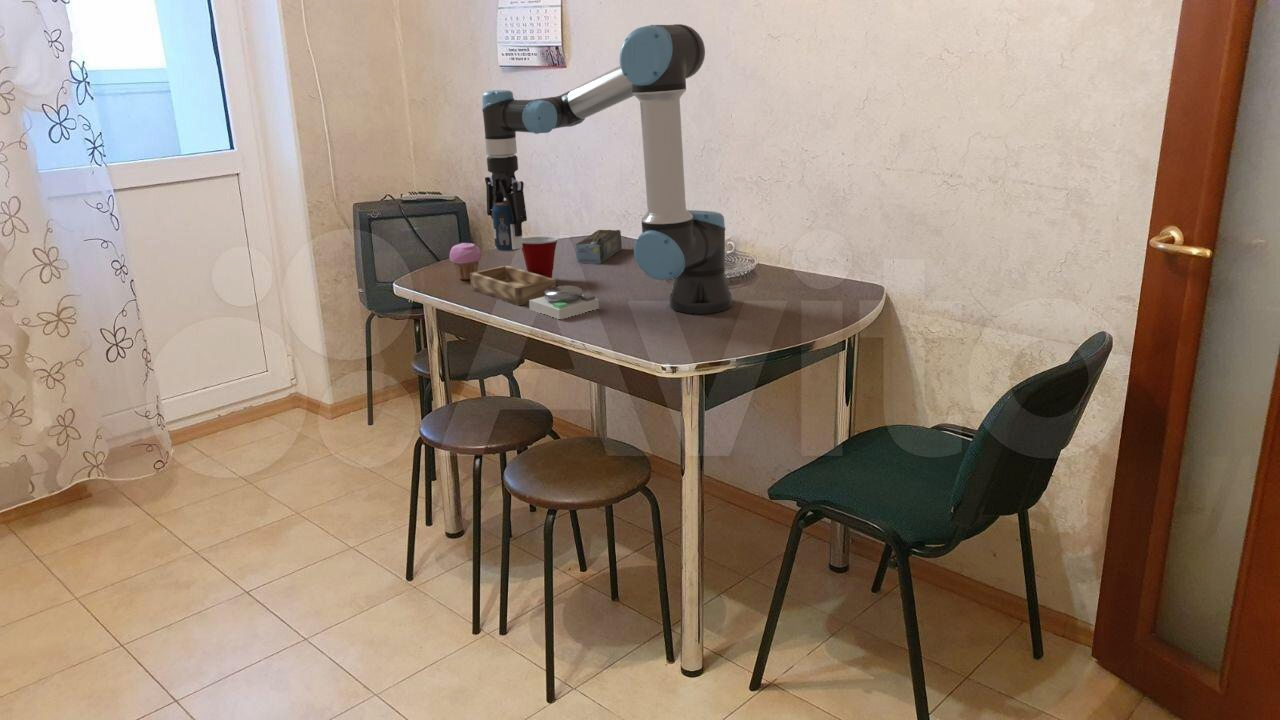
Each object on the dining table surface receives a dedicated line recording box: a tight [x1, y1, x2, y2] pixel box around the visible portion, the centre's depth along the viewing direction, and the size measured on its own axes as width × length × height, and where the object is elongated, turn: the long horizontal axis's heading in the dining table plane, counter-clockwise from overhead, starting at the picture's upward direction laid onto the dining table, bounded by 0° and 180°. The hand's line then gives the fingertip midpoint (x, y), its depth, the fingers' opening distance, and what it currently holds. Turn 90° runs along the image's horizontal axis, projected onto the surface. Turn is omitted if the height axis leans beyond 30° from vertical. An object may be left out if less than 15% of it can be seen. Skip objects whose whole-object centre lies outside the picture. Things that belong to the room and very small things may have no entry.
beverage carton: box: [575, 229, 623, 265], centre depth 278 cm, size 8×19×7 cm, turn 162°
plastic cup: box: [521, 235, 559, 279], centre depth 252 cm, size 11×11×12 cm
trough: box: [469, 264, 556, 307], centre depth 243 cm, size 22×12×4 cm, turn 42°
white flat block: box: [528, 293, 600, 320], centre depth 227 cm, size 12×12×3 cm
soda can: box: [491, 199, 520, 253], centre depth 238 cm, size 7×7×12 cm
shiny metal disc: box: [545, 285, 583, 302], centre depth 227 cm, size 9×9×2 cm
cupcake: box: [449, 242, 482, 281], centre depth 257 cm, size 9×9×10 cm
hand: (508, 246), depth 239 cm, fingers closed on soda can, 7 cm apart
